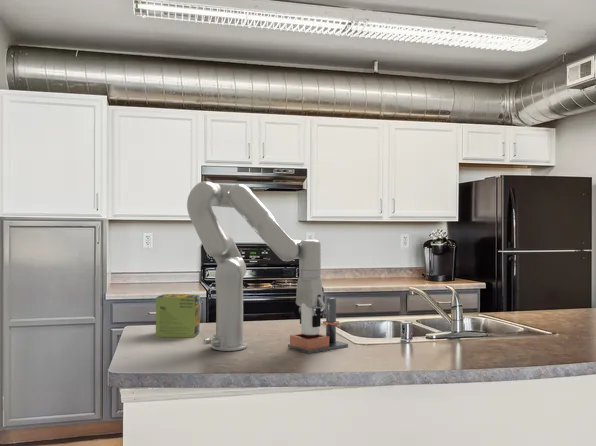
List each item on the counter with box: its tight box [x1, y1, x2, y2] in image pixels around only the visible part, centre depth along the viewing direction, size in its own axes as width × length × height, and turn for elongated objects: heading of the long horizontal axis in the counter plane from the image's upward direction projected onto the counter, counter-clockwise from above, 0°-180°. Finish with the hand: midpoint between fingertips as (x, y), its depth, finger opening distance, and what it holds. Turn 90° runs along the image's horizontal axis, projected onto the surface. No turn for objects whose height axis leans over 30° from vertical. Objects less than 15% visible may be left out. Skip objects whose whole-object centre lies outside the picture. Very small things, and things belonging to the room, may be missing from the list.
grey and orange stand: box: [287, 297, 349, 355], centre depth 198 cm, size 18×12×17 cm, turn 127°
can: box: [300, 303, 321, 335], centre depth 195 cm, size 6×6×12 cm
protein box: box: [155, 293, 201, 338], centre depth 218 cm, size 10×15×16 cm
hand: (310, 324), depth 195 cm, fingers closed on can, 6 cm apart
